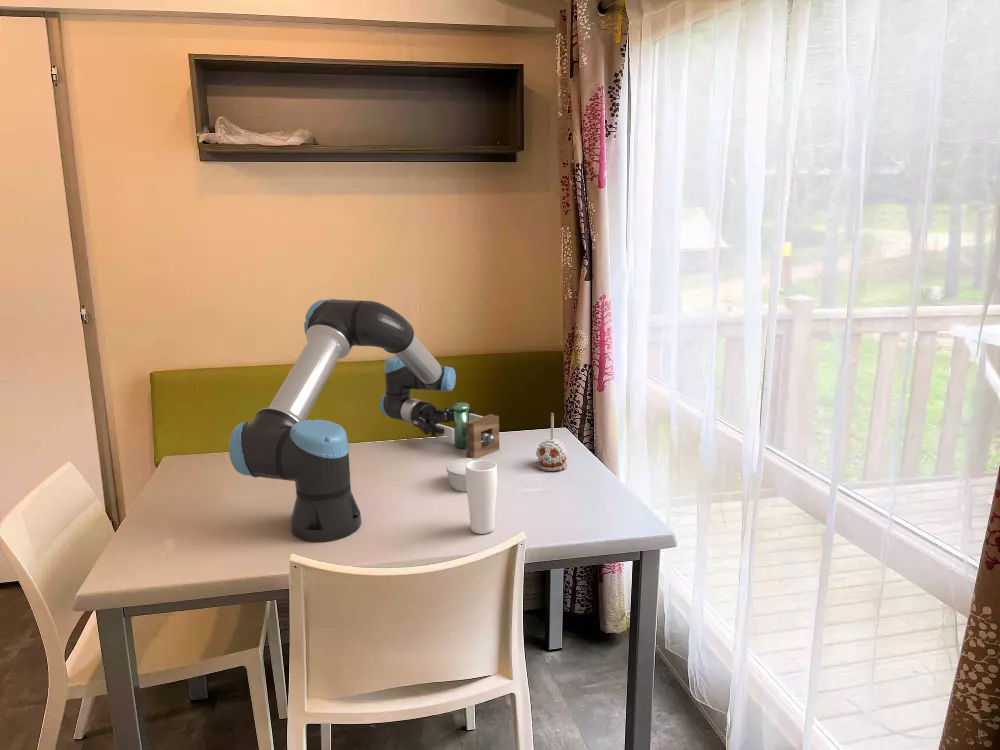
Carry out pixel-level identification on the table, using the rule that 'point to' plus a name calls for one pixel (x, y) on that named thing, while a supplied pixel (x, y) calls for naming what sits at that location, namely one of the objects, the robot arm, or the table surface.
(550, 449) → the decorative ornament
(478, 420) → the brown striped block
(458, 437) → the green tall capped cylinder
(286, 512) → the table surface
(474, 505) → the drinking glass
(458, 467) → the ramekin
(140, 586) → the table surface
